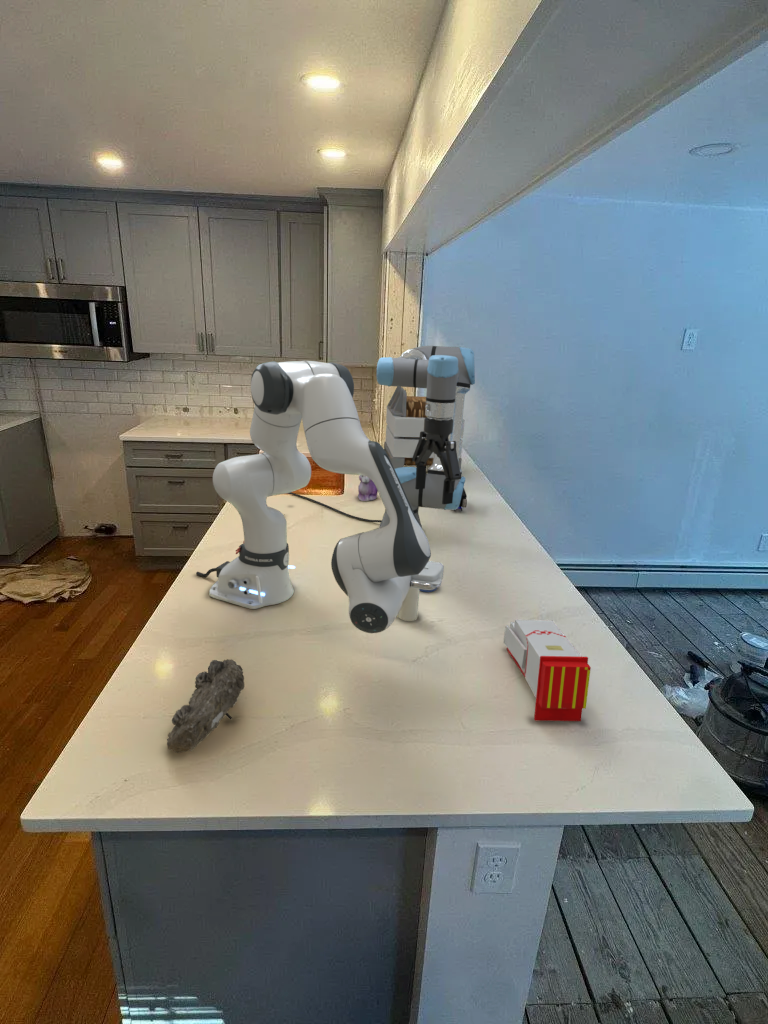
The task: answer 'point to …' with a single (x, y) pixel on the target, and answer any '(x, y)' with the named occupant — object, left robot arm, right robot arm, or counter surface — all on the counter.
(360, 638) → the counter surface
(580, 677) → the toy
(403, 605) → the jar
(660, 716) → the counter surface
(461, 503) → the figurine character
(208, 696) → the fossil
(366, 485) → the figurine
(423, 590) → the lid
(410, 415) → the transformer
